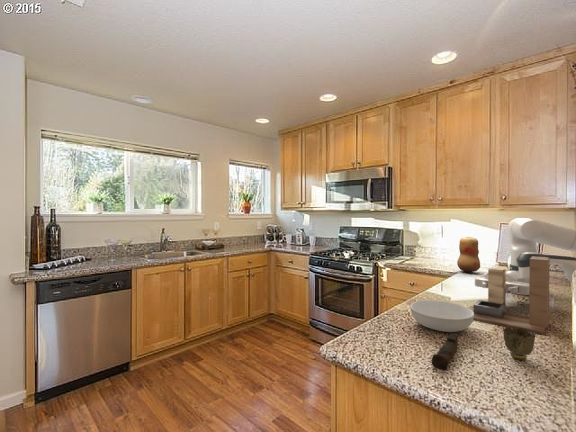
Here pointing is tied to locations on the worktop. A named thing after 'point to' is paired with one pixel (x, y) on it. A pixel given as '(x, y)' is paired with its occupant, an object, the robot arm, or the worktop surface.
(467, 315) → the serving bowl
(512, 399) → the worktop surface
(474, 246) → the butternut squash
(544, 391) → the worktop surface
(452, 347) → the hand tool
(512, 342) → the cup
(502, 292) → the rail bar
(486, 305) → the l-shaped wooden bracket
